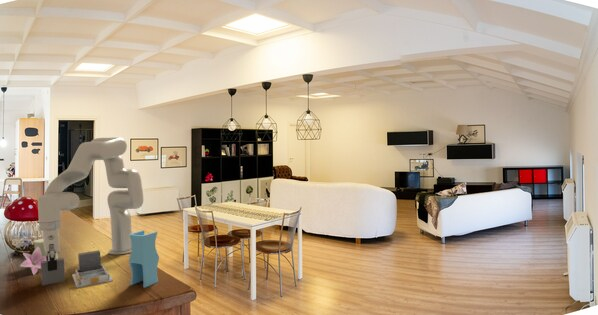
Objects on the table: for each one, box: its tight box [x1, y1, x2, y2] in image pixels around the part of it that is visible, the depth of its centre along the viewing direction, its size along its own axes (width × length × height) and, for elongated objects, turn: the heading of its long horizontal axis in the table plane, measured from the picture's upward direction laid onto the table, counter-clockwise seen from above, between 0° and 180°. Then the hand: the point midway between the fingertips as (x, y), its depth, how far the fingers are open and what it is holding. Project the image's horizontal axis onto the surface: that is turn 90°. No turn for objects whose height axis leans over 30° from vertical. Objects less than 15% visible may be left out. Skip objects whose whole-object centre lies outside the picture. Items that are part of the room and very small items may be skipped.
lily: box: [19, 247, 46, 276], centre depth 180 cm, size 12×12×10 cm
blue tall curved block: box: [128, 230, 160, 289], centre depth 161 cm, size 8×8×20 cm
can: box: [33, 238, 59, 259], centre depth 191 cm, size 9×9×12 cm
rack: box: [71, 249, 114, 289], centre depth 169 cm, size 13×18×10 cm
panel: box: [40, 257, 66, 286], centre depth 166 cm, size 8×3×9 cm, turn 124°
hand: (51, 267), depth 165 cm, fingers open, 9 cm apart
